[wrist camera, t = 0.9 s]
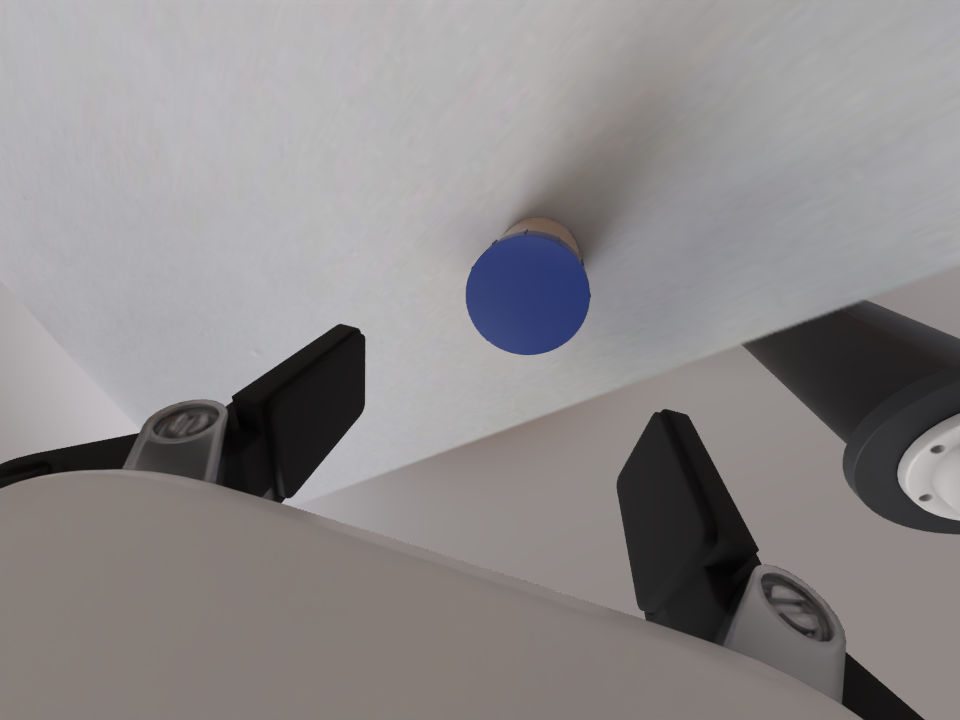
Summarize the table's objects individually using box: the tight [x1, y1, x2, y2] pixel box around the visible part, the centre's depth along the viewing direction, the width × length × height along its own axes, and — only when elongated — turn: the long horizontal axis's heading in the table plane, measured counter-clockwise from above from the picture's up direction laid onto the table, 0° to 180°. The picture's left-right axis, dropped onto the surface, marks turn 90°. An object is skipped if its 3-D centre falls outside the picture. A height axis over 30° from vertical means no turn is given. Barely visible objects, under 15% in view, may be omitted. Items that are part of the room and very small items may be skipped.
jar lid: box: [466, 229, 591, 355], centre depth 20 cm, size 7×7×2 cm
